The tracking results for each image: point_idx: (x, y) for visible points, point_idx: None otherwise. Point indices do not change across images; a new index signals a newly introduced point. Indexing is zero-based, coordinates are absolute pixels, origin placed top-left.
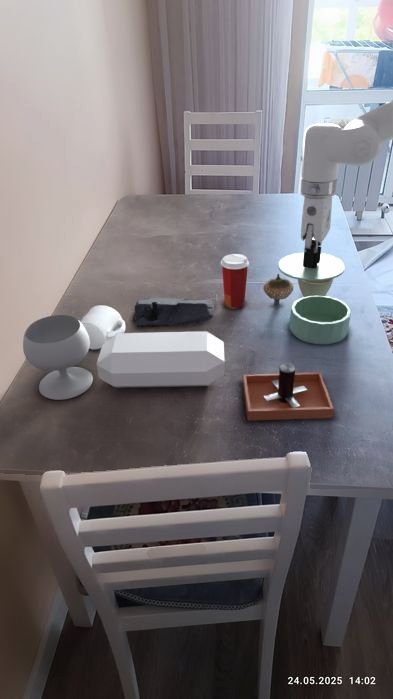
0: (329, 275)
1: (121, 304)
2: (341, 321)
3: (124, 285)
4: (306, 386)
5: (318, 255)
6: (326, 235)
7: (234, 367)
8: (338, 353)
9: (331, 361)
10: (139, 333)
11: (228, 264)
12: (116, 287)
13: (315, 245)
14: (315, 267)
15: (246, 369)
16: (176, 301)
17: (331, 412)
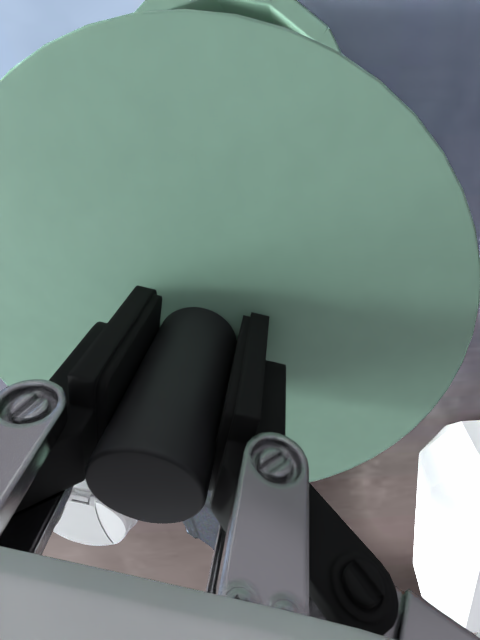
0: (412, 203)
1: (209, 553)
2: (333, 39)
3: (137, 555)
4: None
5: (140, 338)
6: (46, 586)
7: (461, 375)
8: (411, 51)
9: (468, 84)
10: (473, 609)
11: (127, 532)
12: (149, 563)
13: (304, 561)
14: (268, 322)
15: (475, 350)
16: (209, 510)
17: None
